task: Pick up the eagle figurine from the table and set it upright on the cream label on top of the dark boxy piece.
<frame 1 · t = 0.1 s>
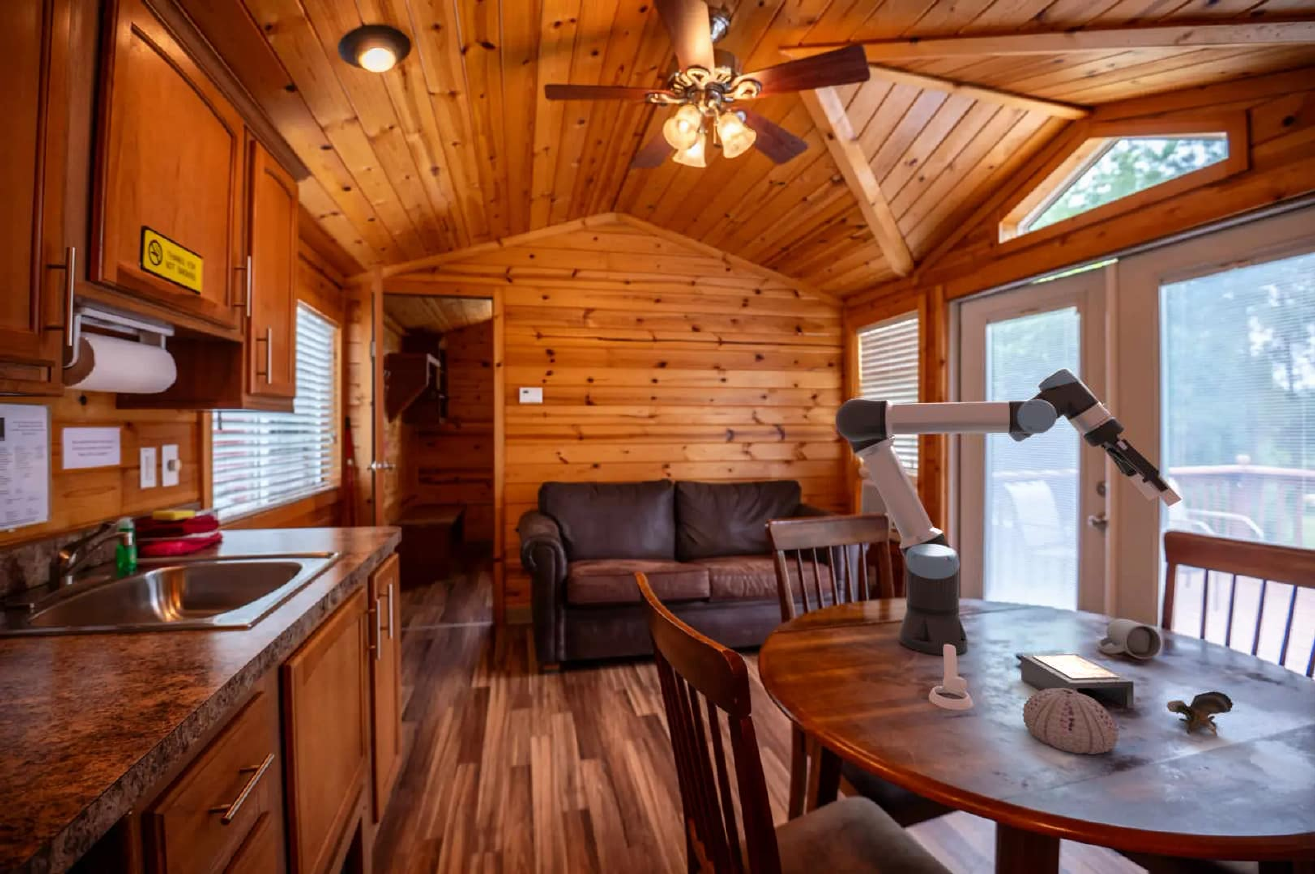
hand: (1164, 500, 134), 36 cm above the table, tool tilted 35°, fingers open, 13 cm apart
eagle figurine: (1201, 730, 102), on the table
dark boxy piece: (1074, 692, 116), on the table
vr controller: (950, 702, 113), on the table
ceramic mug: (1126, 654, 137), on the table
sea urchin shell: (1068, 740, 99), on the table
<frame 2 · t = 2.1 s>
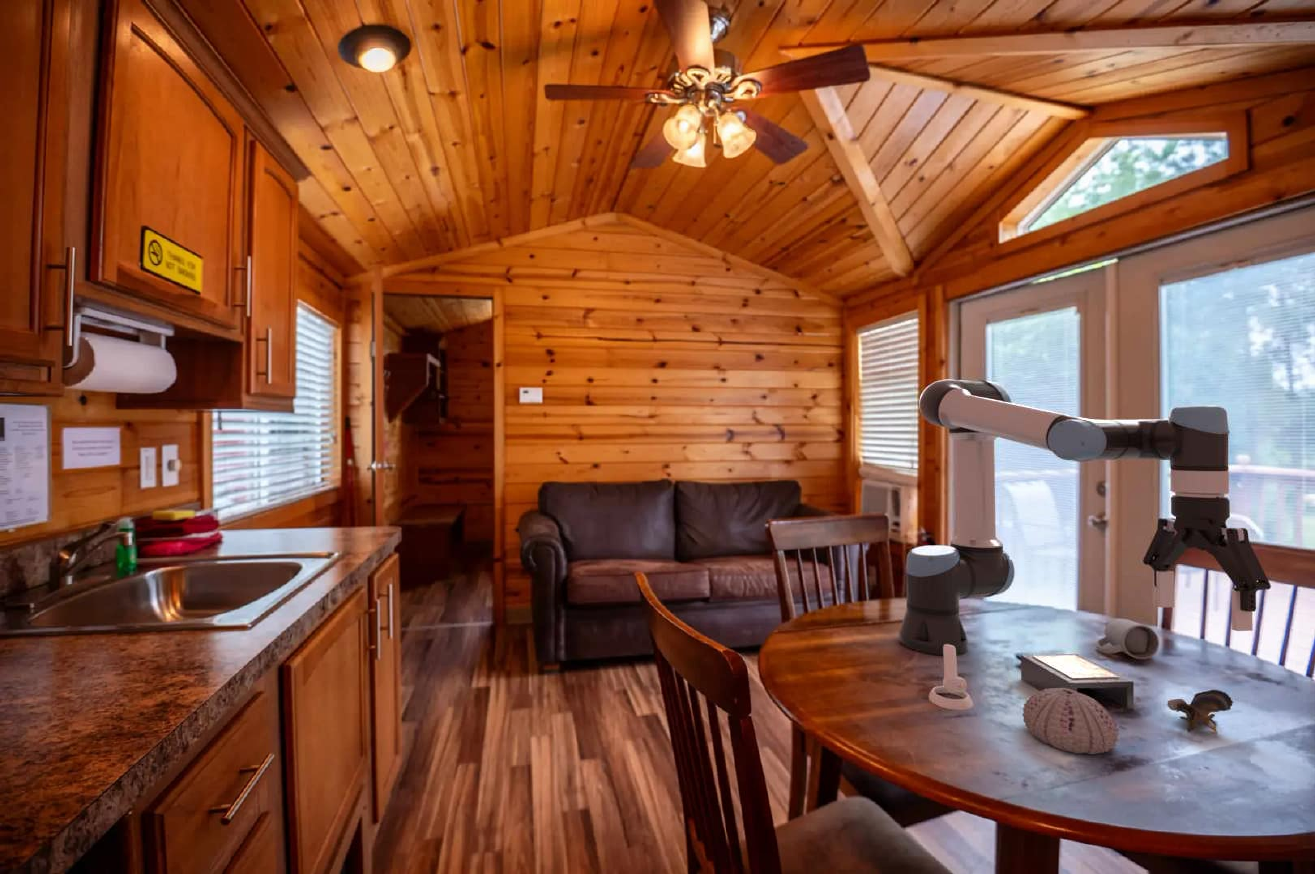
hand: (1201, 617, 102), 19 cm above the table, tool pointing down, fingers open, 13 cm apart
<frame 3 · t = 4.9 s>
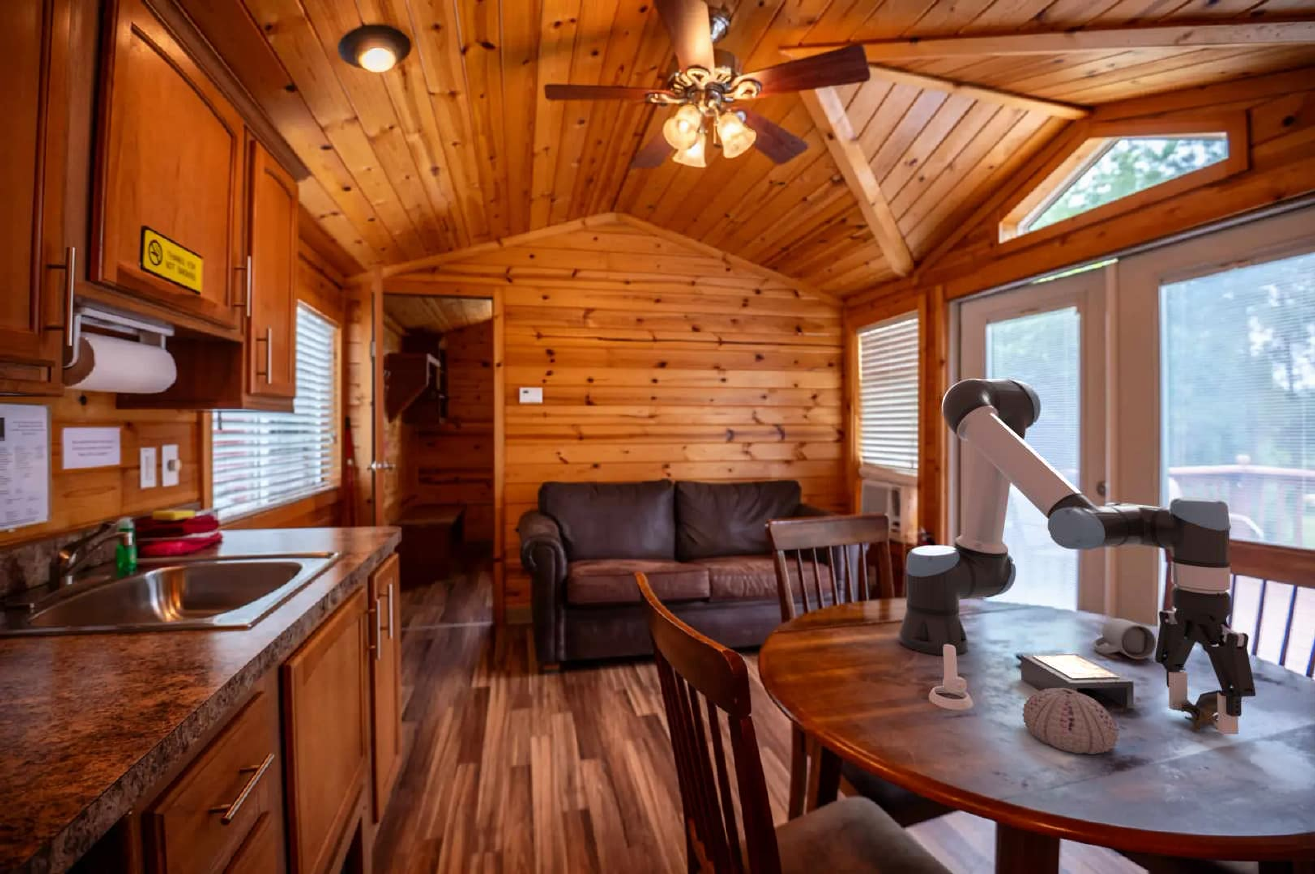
hand: (1202, 720, 101), 2 cm above the table, tool pointing down, fingers closed on eagle figurine, 8 cm apart
eagle figurine: (1206, 728, 102), on the table, touching gripper
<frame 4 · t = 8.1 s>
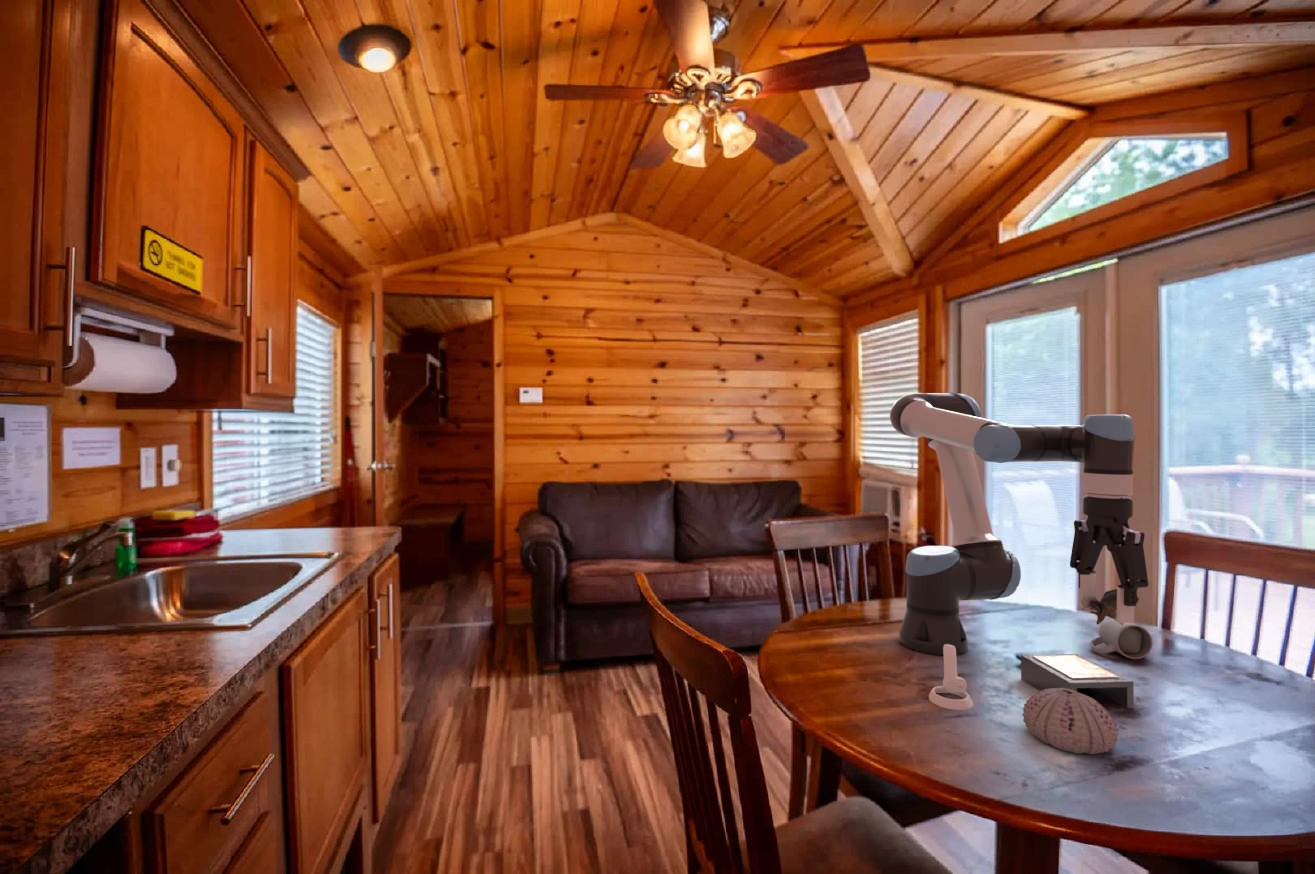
hand: (1105, 614, 112), 17 cm above the table, tool pointing down, fingers closed on eagle figurine, 8 cm apart
eagle figurine: (1110, 622, 113), point 15 cm above the table, touching gripper
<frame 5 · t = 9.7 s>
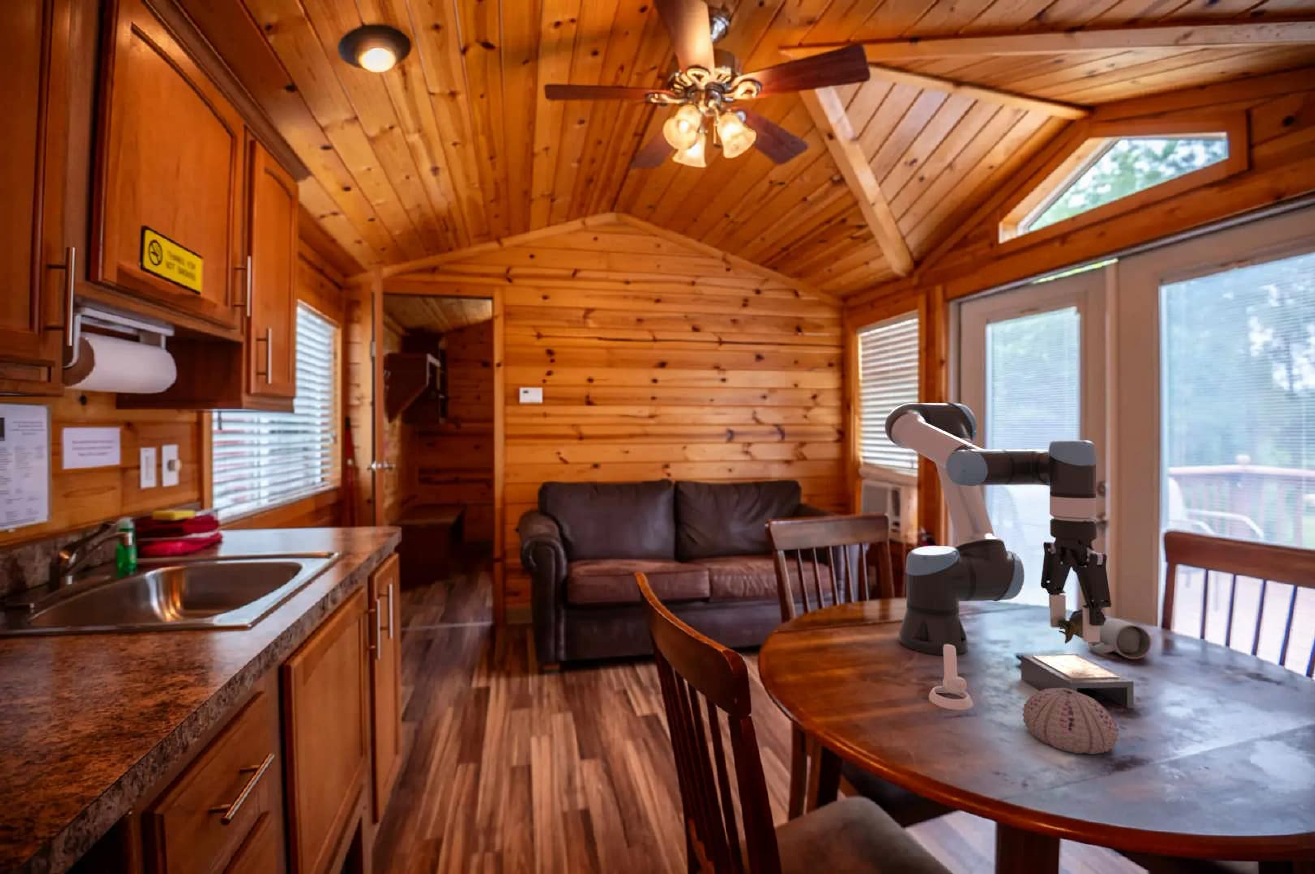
hand: (1074, 633, 116), 12 cm above the table, tool pointing down, fingers closed on eagle figurine, 8 cm apart
eagle figurine: (1078, 641, 117), point 10 cm above the table, touching gripper
when the fingers open (8 cm above the table, at t = 11.2 s): eagle figurine drops 1 cm, resting on dark boxy piece.
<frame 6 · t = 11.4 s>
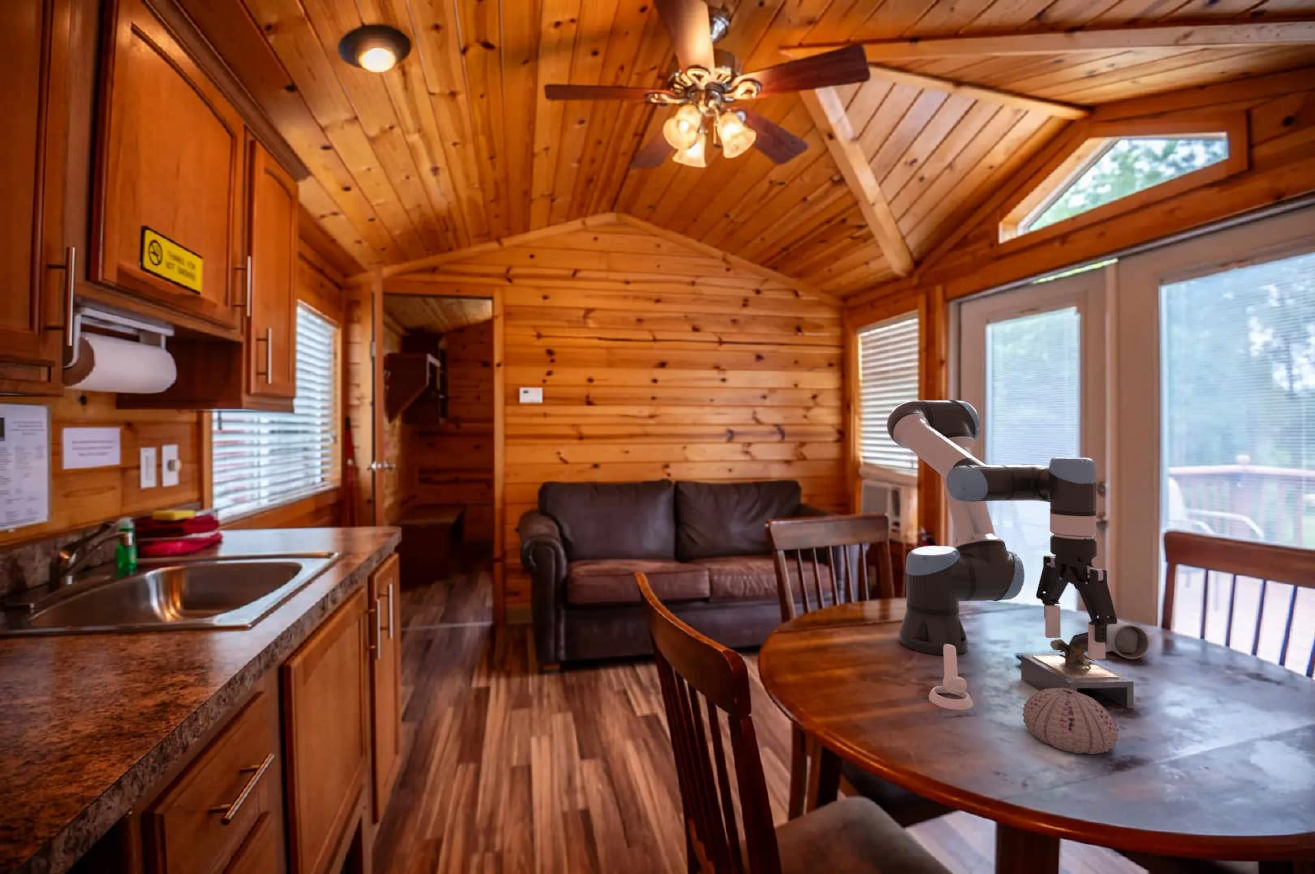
hand: (1073, 647, 116), 9 cm above the table, tool pointing down, fingers open, 11 cm apart
eagle figurine: (1079, 665, 117), point 5 cm above the table, touching dark boxy piece
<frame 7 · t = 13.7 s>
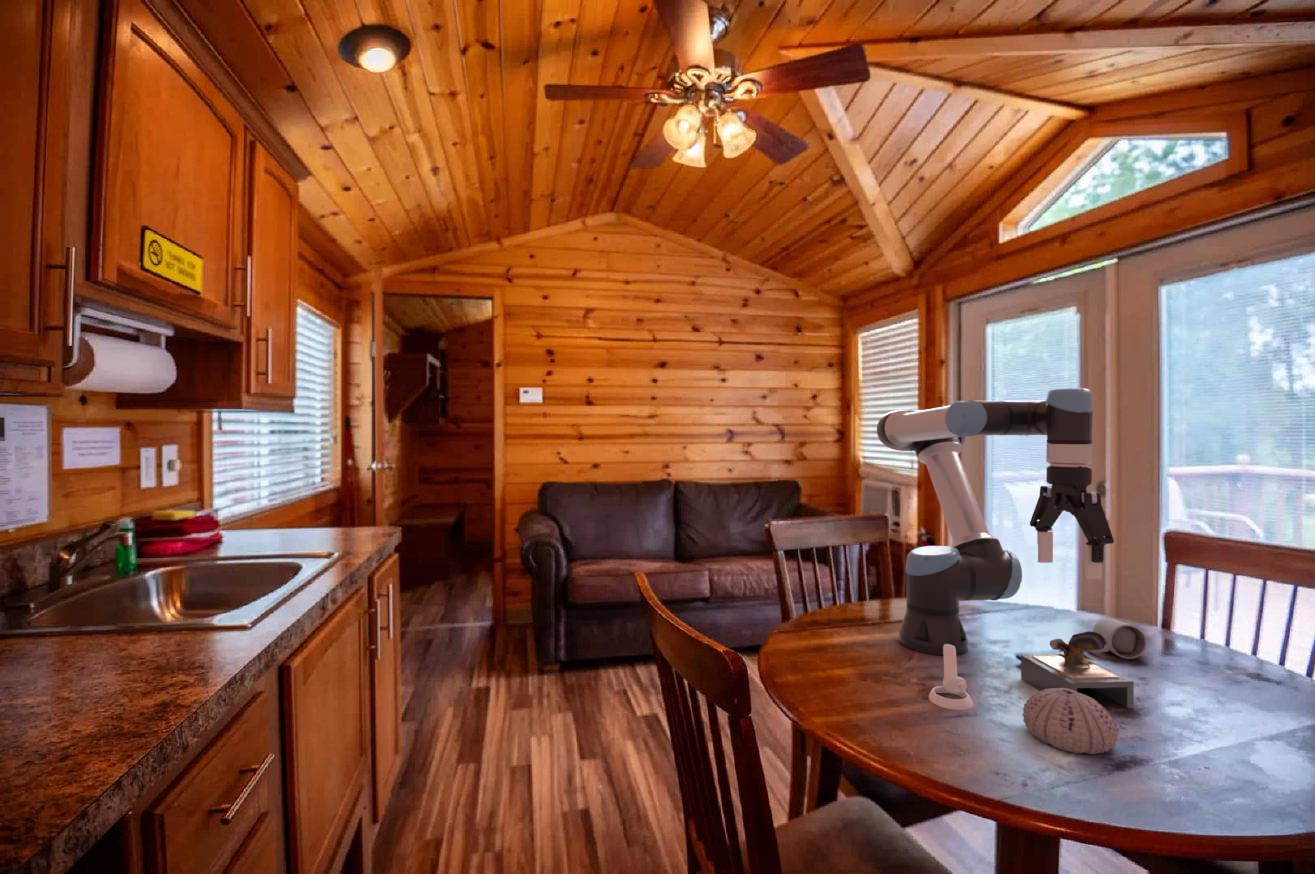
hand: (1068, 570, 119), 23 cm above the table, tool pointing down, fingers open, 13 cm apart
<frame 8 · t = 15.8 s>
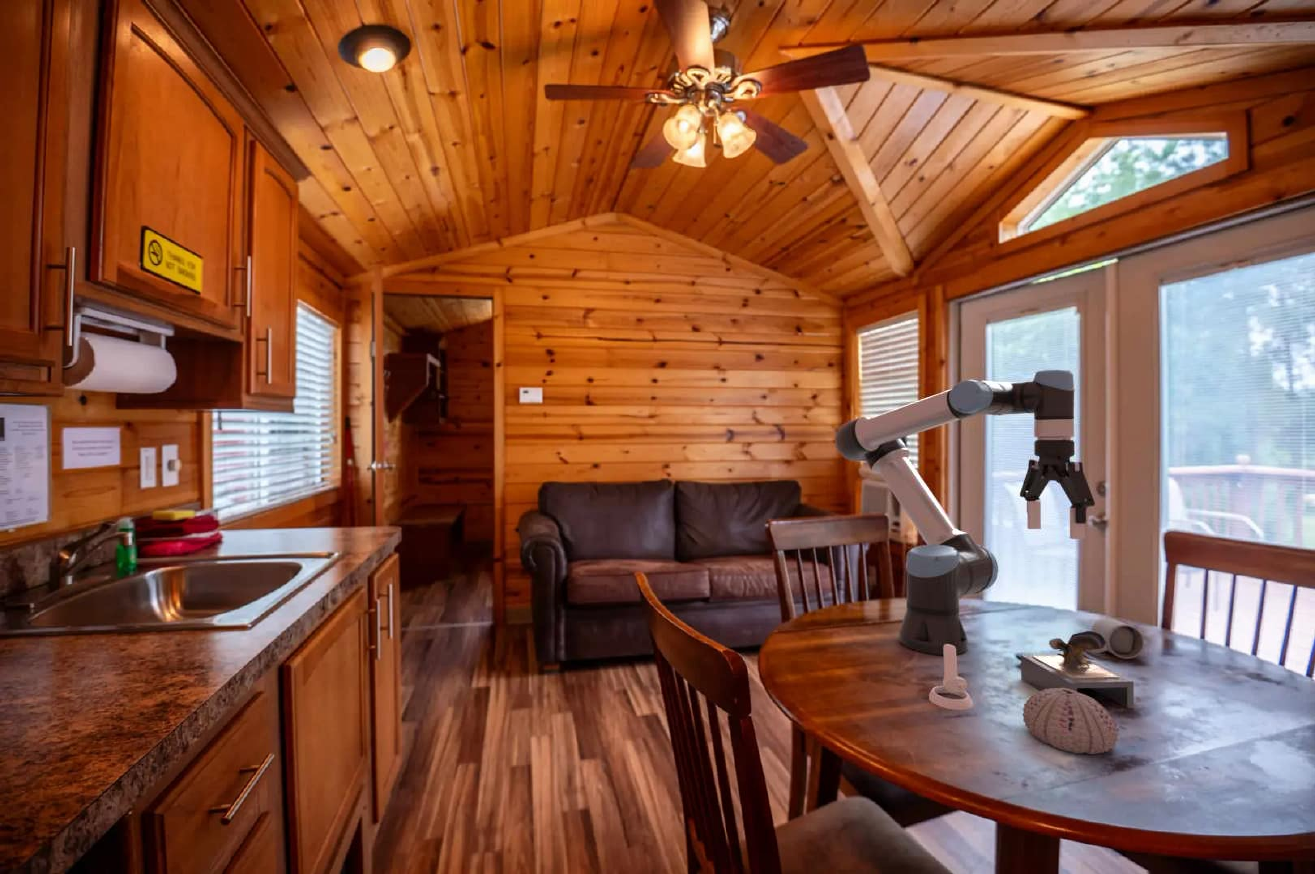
hand: (1054, 533, 133), 29 cm above the table, tool pointing down, fingers open, 13 cm apart
at the end: eagle figurine inside the target area on the dark boxy piece (2.0 cm from its centre), point 5.1 cm above the dark boxy piece's base; eagle figurine tilted 2°; the gripper is holding nothing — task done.
